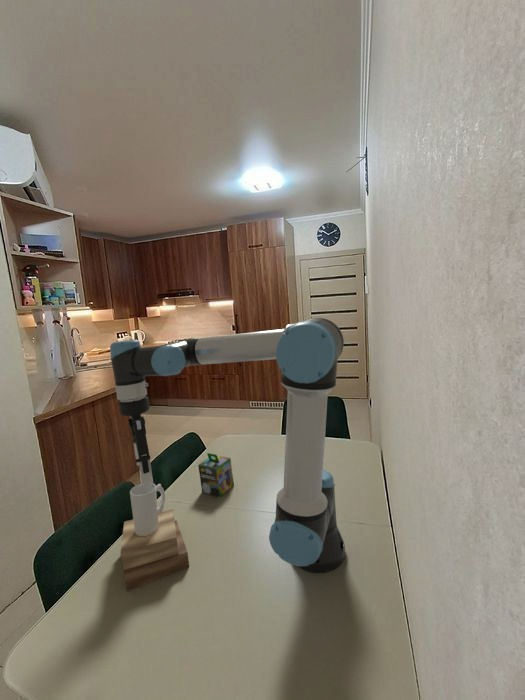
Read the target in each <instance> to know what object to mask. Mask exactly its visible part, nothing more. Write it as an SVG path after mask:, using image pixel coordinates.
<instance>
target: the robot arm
mask: <svg viewBox="0 0 525 700" xmlns="http://www.w3.org/2000/svg"><path fill="white" fill-rule="evenodd" d="M344 340H345V339H344V336H343V332H342V331H341V329H340V328H339V326H338V325H337V324H336V323H335V322H333V321H332V320H329V319H327V318H323V317H314V318H313V317H312V318H310V319H308V320H301V321H298V322H296V323H290V324H287V325H286V327H285V328H282V329H281V328H280V329H272V330H271V329H270V330H262V331H254V332H253V331H251V332H245V333H235V334H224V335H218V336H207V337H201V338H196V337H191V338H185V339H183V340H179V341H174V342H170V343H163V344H160V345H154V346H144V347H143V346H142V345H141V342H140V341H139V339H129V340H127V339H126V340H119V341H114V342H112V343H110V345H109V350H110V351H109V352H110V361H111V366H112V371H113V378H114V382H115V384H114V385H115V391H116V399H117V400H118V403H117V404H118V409H119V414H120V415H121V417H129V419H127V421H128V426H129V428H130V432H131V438H132V442H133V447H134V448H133V449H134V455H135V463H136V466H138V467H139V468H138V469H139V473H140V480H141V484H142V486H143V485H146V484H150V483H153V484H154V478H153V473H152V465H151V455H150V450H149V445H148V441H147V429H146V419H145V417H144V415H142V414H144V413H147V412H148V411H149V410H150V402H149V397H148V396H147V395H148V391H147V390H148V389H147V388H146V387H149V383H148V382H146V377H158V376H159V377H170V376H176V375H178V374H181V373H182V370H183V369H184V368H188V367H190V366H191V367H192V366H202V365H213V364H226V363H227V364H229V363H240V362H253V361H255V362H256V361H269V360H276V363H277V366H278V368H279V369H280V371H281V373H280V374H281V377H280V378H281V379H280V384H281V385H282V386H283V387H284V388H285V389H286V390H287V398H286V399H287V402H286V403H287V404H286V423H285V424H286V425H285V427H286V428H285V443H284V444H285V446H284V447H285V448H284V449H285V450H284V467H283V469H284V470H283V487H282V488H281V489H280V490H279V491H278V492H277V494H276V500H275V503H276V504H275V505H276V506H275V519H274V522H273V524H272V525H271V526H270V530H269V535H268V540H269V544H270V546H271V548H272V550H273V552H274V553H275V554H277V556H278V557H279V558H280V559H281V560H282V561H284V562H286V563H287V564H289V565H292V566H296V567H298V568H300V569H302V570H303V571H304V570H305V571H307V572H311V573H326V572H331V571H332V570H335V569H336V568H338V567H339V566H340V565H342V563H344V559H345V558H346V545H345V542H344V539H343V537H342V534H341V532H340V530H339V527H338V525H337V524H338V523H337V510H336V509H337V508H336V495H335V494H336V493H335V486H336V484H335V482H334V481H335V480H334V477H333V475H332V473H330V472H329V471H327V470H326V469H324V459H325V456H324V455H325V444H326V443H325V442H326V428H327V425H326V424H327V414H328V413H327V411H328V397H329V393H330V392H331V391H332V390H334V389H335V388H336V386H337V385H336V384H337V372H338V359H339V358H340V356H341V355H342V352H343V350H344V343H345V341H344Z"/></svg>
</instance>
